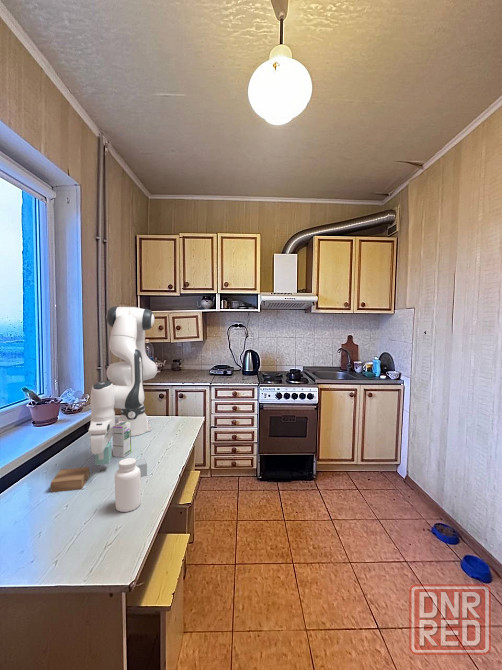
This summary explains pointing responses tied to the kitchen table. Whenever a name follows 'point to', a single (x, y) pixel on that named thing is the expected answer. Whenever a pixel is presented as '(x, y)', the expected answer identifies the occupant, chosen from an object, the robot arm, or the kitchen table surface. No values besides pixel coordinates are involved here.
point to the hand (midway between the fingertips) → (103, 455)
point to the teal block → (106, 455)
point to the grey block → (142, 467)
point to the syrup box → (121, 439)
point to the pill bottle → (127, 485)
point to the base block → (70, 479)
